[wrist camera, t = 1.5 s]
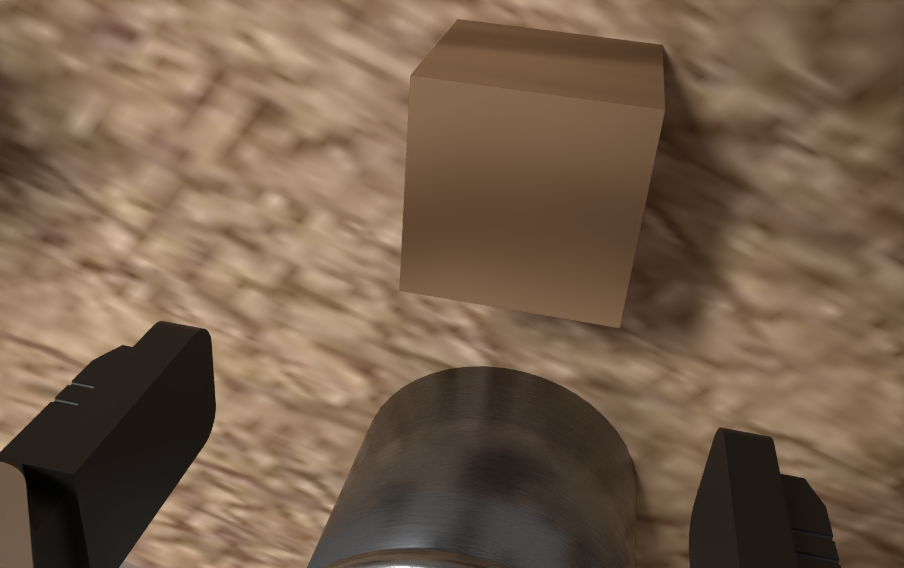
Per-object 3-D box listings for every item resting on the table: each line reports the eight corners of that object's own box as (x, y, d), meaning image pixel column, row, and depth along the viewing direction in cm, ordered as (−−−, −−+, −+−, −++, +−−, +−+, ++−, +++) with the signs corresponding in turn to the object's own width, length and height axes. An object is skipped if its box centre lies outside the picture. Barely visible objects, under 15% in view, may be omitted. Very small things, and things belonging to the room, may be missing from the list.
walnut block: (458, 18, 23) (410, 75, 19) (662, 44, 23) (665, 109, 18) (444, 201, 26) (399, 290, 22) (625, 229, 25) (619, 328, 21)
